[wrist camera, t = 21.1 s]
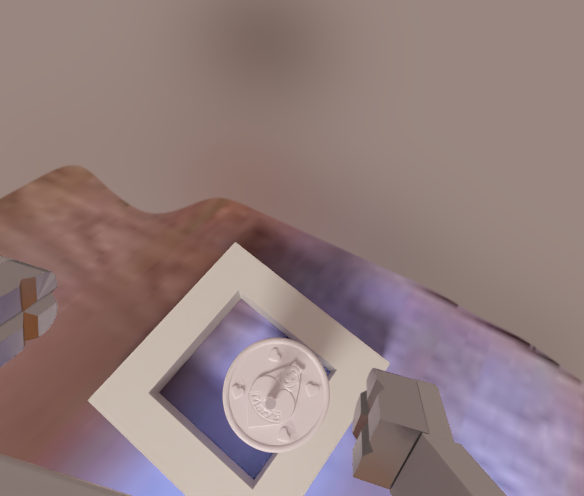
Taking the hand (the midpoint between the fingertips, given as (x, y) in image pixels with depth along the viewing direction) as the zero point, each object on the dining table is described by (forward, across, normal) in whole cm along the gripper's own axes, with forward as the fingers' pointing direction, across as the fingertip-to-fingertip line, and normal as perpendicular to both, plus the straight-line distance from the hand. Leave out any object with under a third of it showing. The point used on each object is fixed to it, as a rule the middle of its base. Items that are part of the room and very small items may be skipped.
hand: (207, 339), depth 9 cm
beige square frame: (+16, 0, +17) cm, 23 cm away
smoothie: (+16, -2, +17) cm, 24 cm away
